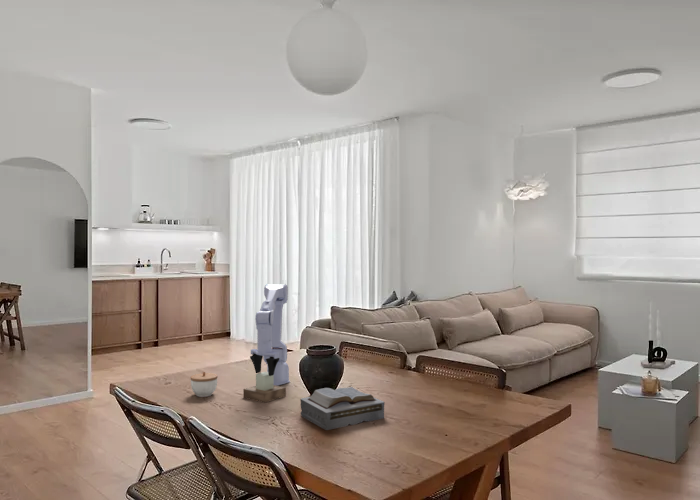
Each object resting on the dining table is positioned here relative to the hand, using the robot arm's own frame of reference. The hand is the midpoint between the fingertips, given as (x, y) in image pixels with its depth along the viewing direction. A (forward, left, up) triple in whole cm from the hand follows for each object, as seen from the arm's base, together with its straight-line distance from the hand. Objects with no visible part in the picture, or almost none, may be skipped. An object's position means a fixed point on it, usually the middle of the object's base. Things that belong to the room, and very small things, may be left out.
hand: (264, 374), depth 225 cm
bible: (+2, +41, -10) cm, 42 cm away
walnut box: (0, 0, -10) cm, 10 cm away
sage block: (0, 0, -6) cm, 6 cm away
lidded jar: (+13, -22, -9) cm, 27 cm away
